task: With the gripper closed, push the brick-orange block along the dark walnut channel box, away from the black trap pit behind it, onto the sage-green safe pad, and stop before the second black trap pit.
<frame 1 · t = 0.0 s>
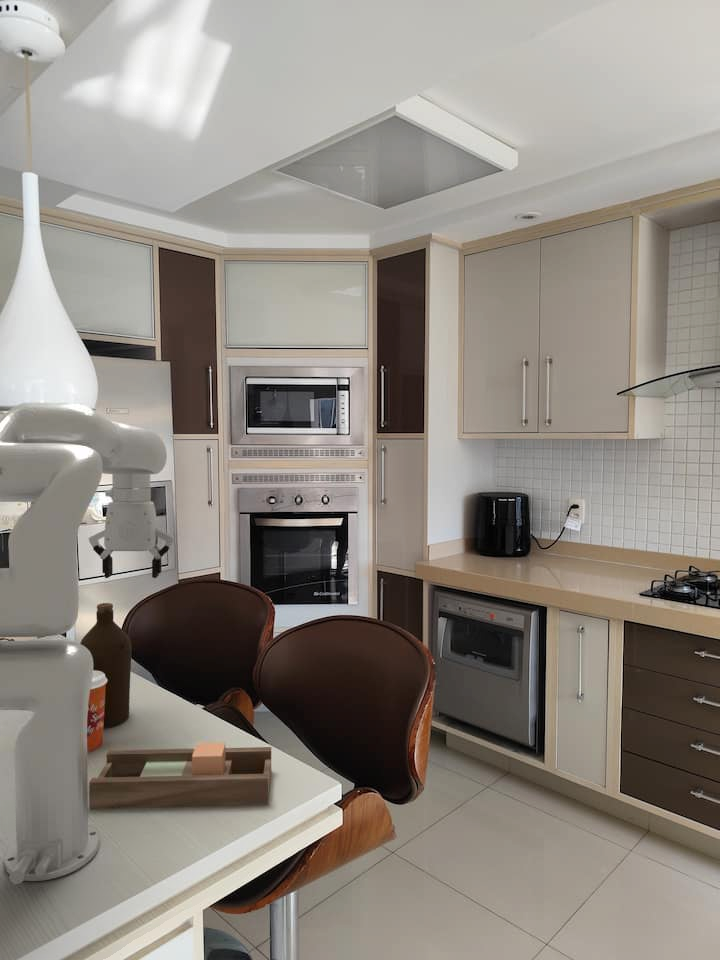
hand: (132, 576, 140), 31 cm above the counter, tool pointing down, fingers open, 9 cm apart
olive oil: (105, 720, 142), on the counter
paper cup: (87, 746, 130), on the counter
block: (208, 771, 115), point 3 cm above the counter, touching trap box
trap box: (185, 788, 115), on the counter
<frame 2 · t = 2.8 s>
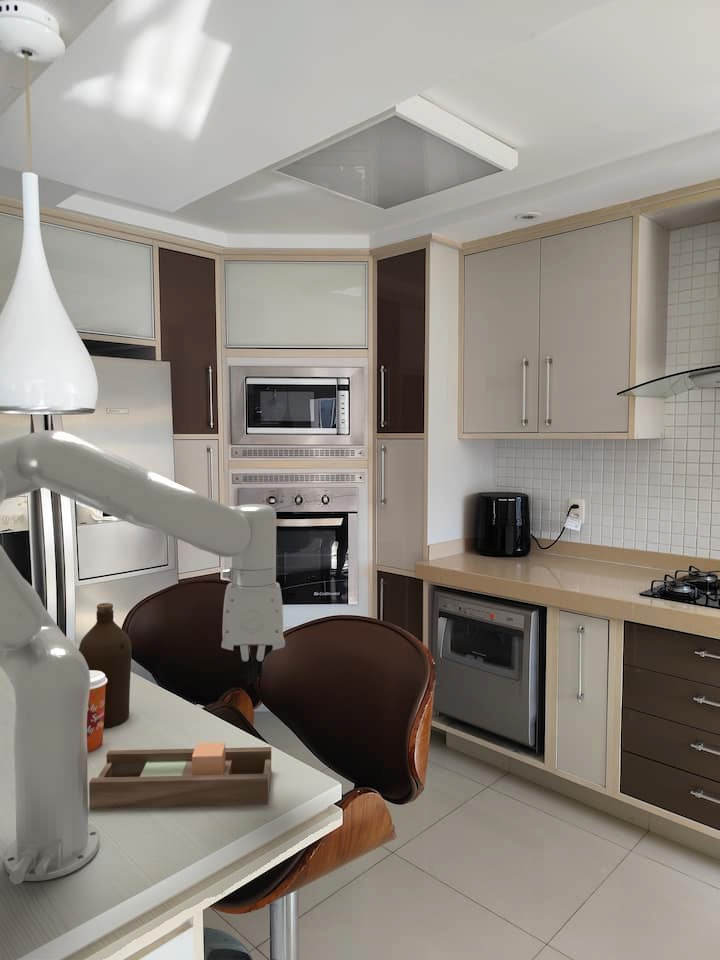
hand: (253, 680, 115), 19 cm above the counter, tool pointing down, fingers closed
nothing on the counter moved.
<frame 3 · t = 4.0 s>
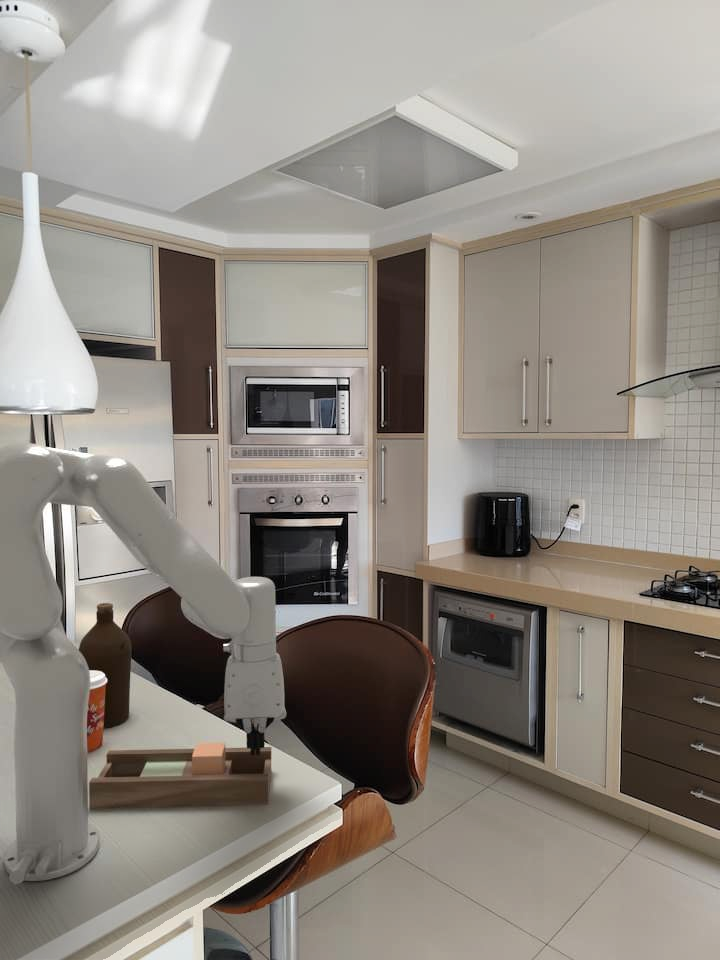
hand: (255, 751, 116), 6 cm above the counter, tool pointing down, fingers closed
nothing on the counter moved.
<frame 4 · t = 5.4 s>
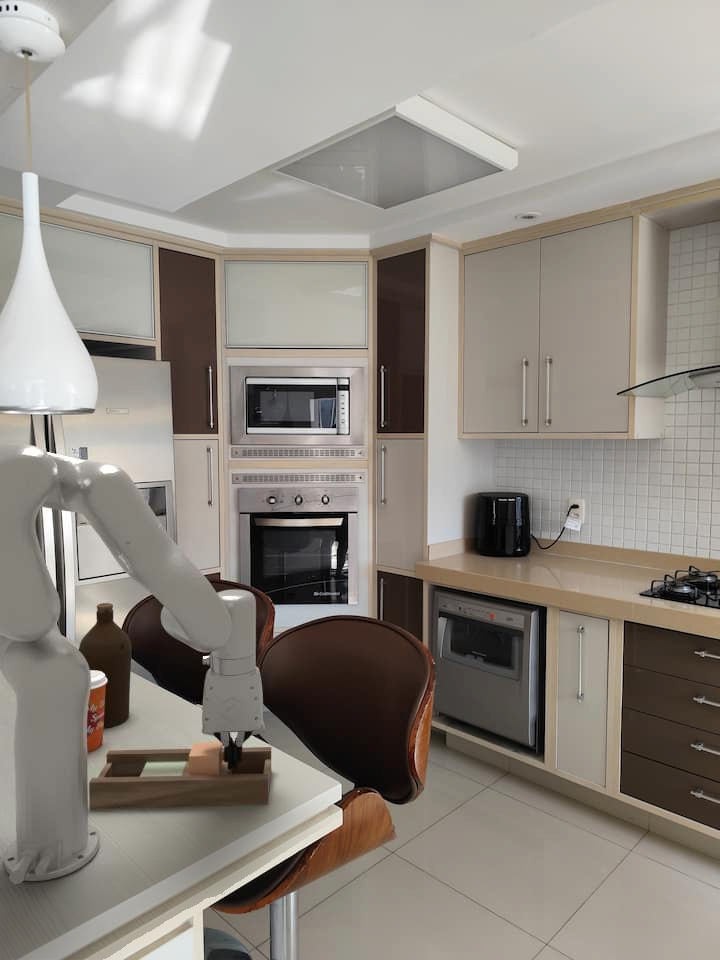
hand: (233, 765, 116), 4 cm above the counter, tool pointing down, fingers closed
block: (205, 771, 115), point 3 cm above the counter, touching gripper
everything else where it was.
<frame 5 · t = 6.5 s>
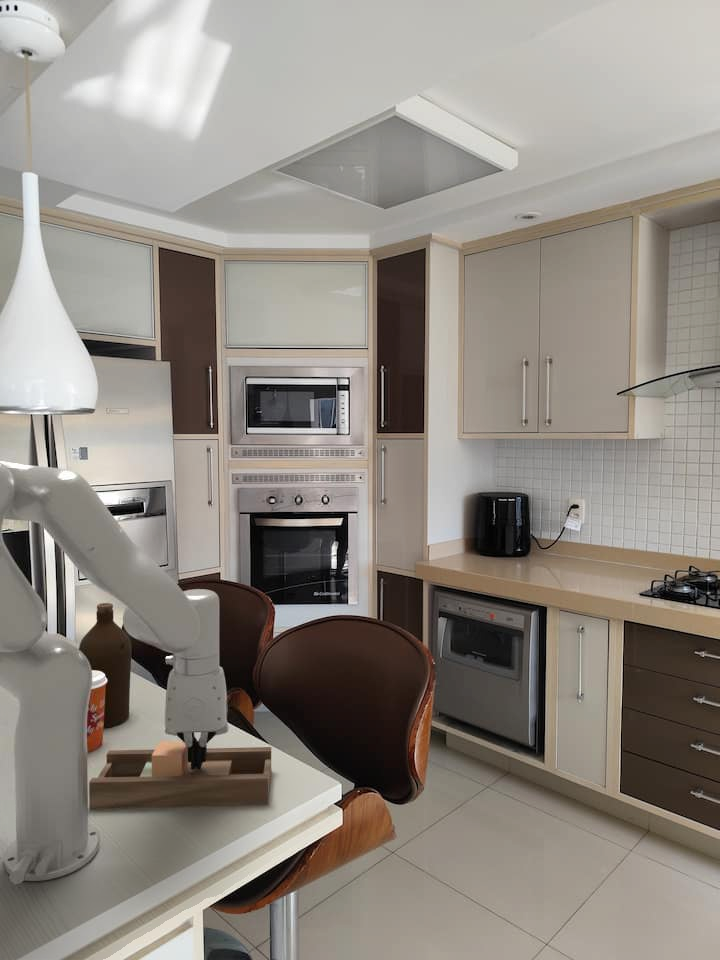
hand: (197, 765, 115), 4 cm above the counter, tool pointing down, fingers closed
block: (170, 770, 115), point 3 cm above the counter, touching gripper
everything else where it was.
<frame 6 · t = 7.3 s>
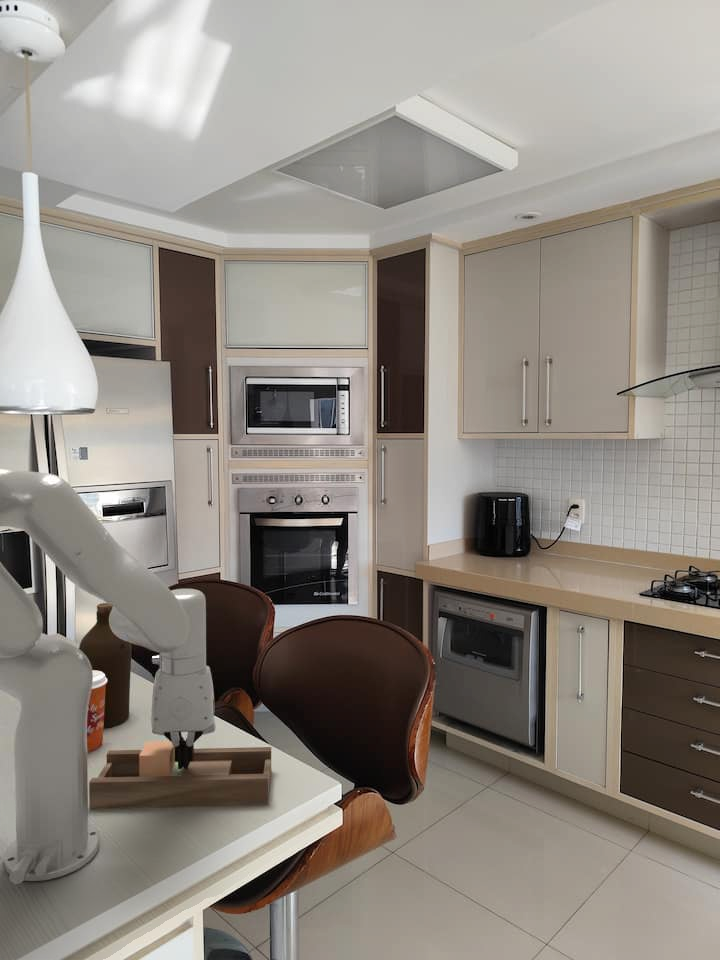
hand: (184, 764, 115), 4 cm above the counter, tool pointing down, fingers closed
block: (157, 770, 115), point 3 cm above the counter, touching gripper
everything else where it was.
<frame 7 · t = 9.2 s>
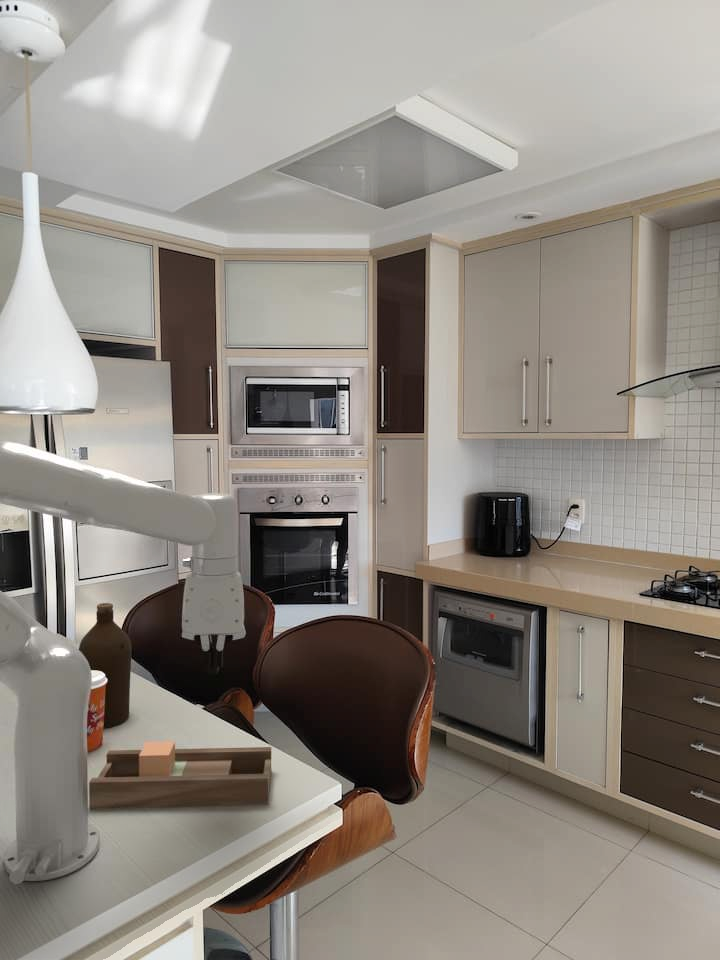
hand: (213, 671, 114), 21 cm above the counter, tool pointing down, fingers closed
block: (157, 770, 115), point 3 cm above the counter, touching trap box
everything else where it was.
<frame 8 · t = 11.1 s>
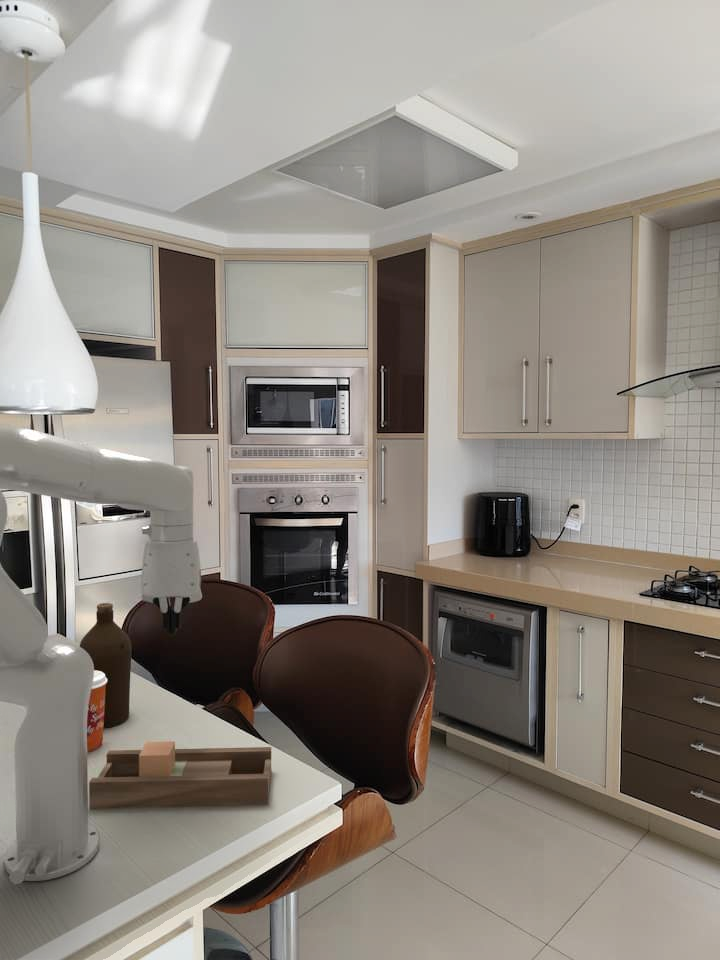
hand: (172, 631, 122), 25 cm above the counter, tool pointing down, fingers closed
nothing on the counter moved.
at the end: block 1.3 cm from the target spot, point 3.0 cm above the counter; block tilted 0° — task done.
